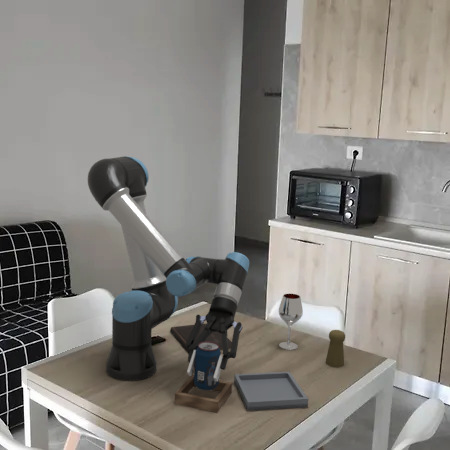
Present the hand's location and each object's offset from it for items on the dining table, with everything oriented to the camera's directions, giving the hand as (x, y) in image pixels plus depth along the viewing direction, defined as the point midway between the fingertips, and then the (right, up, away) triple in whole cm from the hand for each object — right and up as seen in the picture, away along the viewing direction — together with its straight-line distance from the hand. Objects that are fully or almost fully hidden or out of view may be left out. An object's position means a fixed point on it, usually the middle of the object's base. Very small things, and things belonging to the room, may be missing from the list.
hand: (202, 376), depth 159 cm
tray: (+19, -7, +9) cm, 22 cm away
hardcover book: (-2, 0, +45) cm, 45 cm away
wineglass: (+28, -1, +44) cm, 52 cm away
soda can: (+1, -4, +4) cm, 6 cm away
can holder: (0, -7, +5) cm, 9 cm away
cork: (+42, -4, +32) cm, 52 cm away
